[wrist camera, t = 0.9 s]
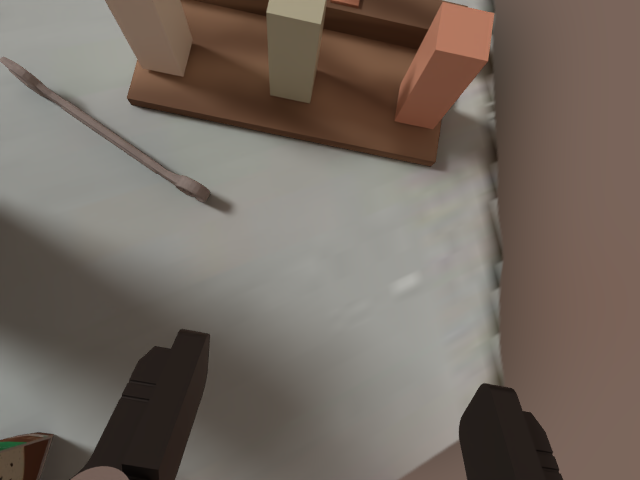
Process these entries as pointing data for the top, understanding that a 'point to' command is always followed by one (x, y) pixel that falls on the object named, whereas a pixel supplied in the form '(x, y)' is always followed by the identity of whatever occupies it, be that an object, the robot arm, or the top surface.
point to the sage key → (294, 46)
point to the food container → (24, 456)
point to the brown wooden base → (330, 81)
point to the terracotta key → (444, 64)
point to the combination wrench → (108, 133)
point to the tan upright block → (155, 33)
